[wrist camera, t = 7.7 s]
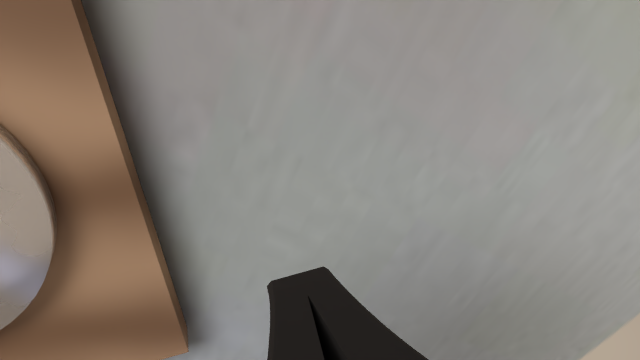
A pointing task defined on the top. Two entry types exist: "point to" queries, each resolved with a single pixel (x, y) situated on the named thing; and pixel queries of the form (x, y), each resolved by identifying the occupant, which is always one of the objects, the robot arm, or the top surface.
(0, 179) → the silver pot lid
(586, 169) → the top surface
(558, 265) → the top surface
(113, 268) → the mounting board
